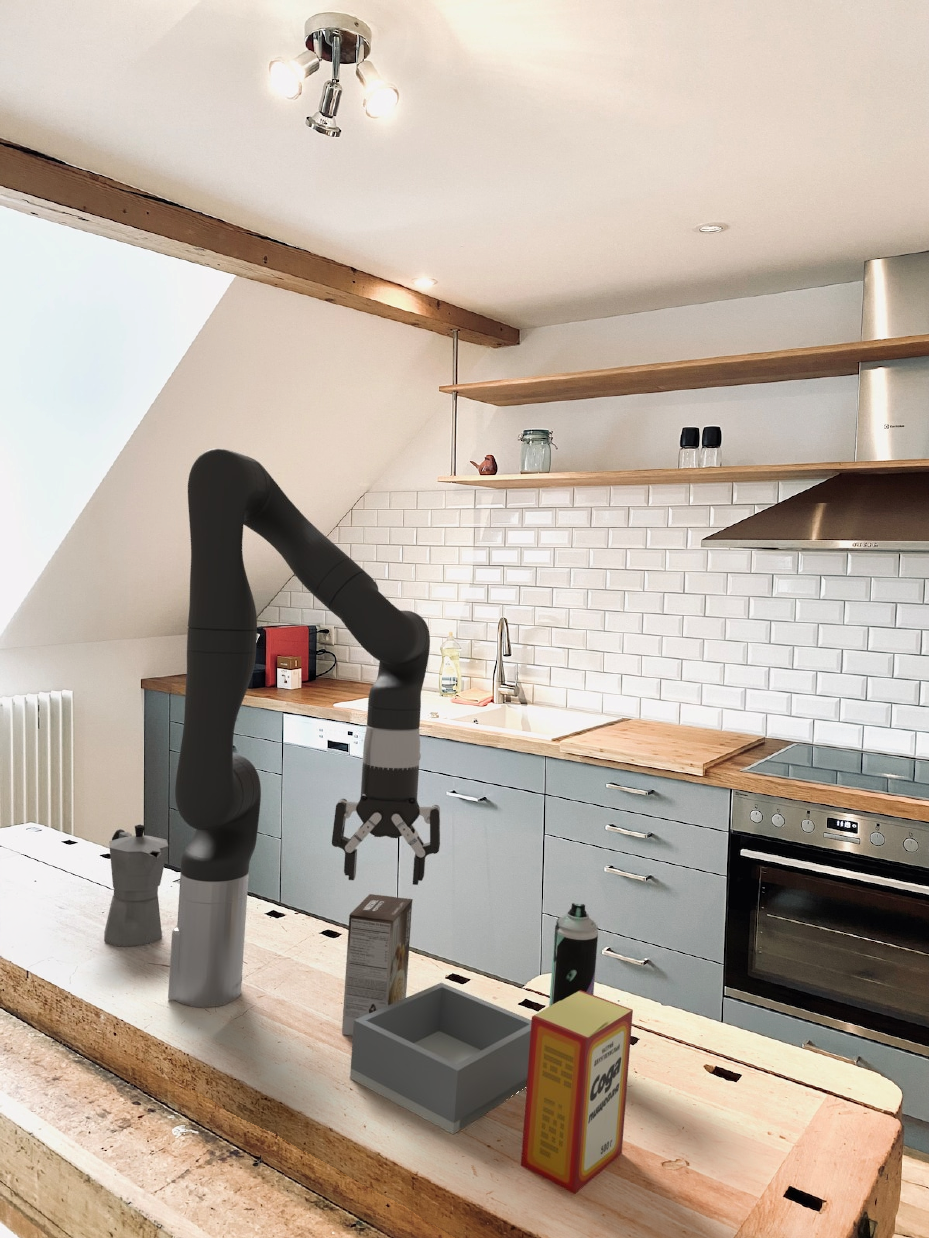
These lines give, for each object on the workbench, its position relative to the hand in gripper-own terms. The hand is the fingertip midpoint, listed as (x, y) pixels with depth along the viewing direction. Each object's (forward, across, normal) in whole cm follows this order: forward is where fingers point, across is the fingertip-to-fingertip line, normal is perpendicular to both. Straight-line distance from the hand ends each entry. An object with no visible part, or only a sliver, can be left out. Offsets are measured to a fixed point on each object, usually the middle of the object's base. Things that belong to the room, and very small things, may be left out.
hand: (384, 880), depth 126 cm
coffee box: (+20, 0, 0) cm, 20 cm away
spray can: (+20, +25, -5) cm, 32 cm away
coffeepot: (+19, -42, +24) cm, 52 cm away
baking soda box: (+20, +24, -27) cm, 41 cm away
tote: (+20, +10, -13) cm, 25 cm away
